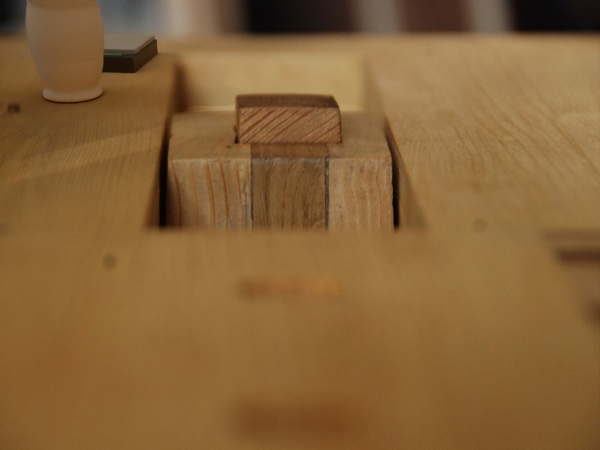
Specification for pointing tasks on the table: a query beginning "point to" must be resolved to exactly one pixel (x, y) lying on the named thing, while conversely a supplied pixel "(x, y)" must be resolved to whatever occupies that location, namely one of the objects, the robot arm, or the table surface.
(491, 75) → the table surface
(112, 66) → the scale
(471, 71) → the table surface
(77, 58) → the jar
